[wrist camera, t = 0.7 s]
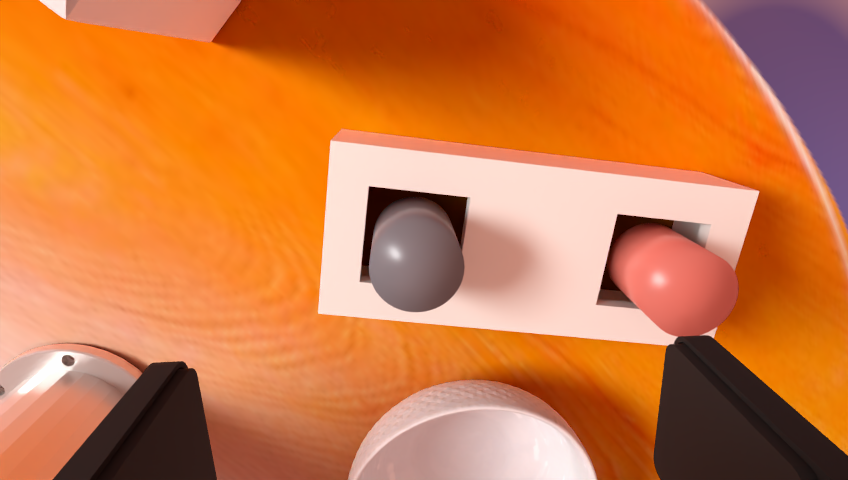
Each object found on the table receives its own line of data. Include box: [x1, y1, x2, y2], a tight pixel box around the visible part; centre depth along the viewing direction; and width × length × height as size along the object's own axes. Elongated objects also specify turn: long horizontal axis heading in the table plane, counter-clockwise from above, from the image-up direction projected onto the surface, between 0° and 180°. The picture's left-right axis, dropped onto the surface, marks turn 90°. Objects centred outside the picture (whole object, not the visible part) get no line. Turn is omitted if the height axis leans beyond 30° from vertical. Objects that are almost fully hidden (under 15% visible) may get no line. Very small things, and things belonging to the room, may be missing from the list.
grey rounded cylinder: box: [369, 197, 465, 312], centre depth 29 cm, size 5×5×6 cm
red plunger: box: [607, 223, 739, 337], centre depth 30 cm, size 5×5×6 cm
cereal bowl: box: [348, 379, 597, 480], centre depth 38 cm, size 17×17×7 cm
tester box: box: [318, 129, 759, 345], centre depth 34 cm, size 10×24×6 cm, turn 83°
